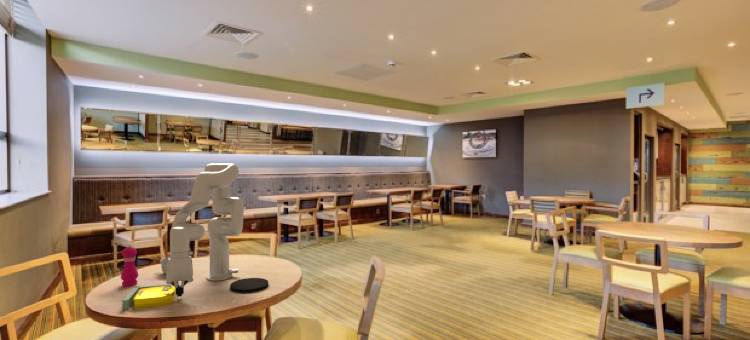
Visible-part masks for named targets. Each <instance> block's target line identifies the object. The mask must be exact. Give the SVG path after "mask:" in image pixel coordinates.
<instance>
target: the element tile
mask: <svg viewBox="0 0 750 340" xmlns="http://www.w3.org/2000/svg"><path fill="white" fill-rule="evenodd" d="M176 297H177V295H176V288H175V287H174V286H173V285H171V286H161V287H152V288H142V289H140V290H138V292H137V293H136V295H135V296H134V298H133V304H132V309H135V310H138V309H146V308H148V309H149V308H154V307H164V306H169V305H173V304H174V302H175V300H176Z"/></svg>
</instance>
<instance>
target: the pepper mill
mask: <svg viewBox="0 0 750 340" xmlns="http://www.w3.org/2000/svg"><path fill="white" fill-rule="evenodd" d="M132 246H133V245H132V244H128V245H127V247H125V248H124V249H123V250H122V253H121V255H122V257H123V262H124V267H123V269H122V271H121V274H120V279H121V281H122V282H121V286H122V287H124V288H128V287H133V286H134V287H135V286H136V285H137V284H138V280H137V279H138V277H139V271H138V269H137V267H136V265H135V261H136V256H137V253H138V251H137V248H135V247H132Z"/></svg>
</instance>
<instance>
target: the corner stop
mask: <svg viewBox="0 0 750 340" xmlns="http://www.w3.org/2000/svg"><path fill="white" fill-rule="evenodd" d="M171 285H172V284H166V283H163V284H162V283H161V284H151V285H137V286H136V285H135V286H134V287H133V289H132V290H130V292H129V293H128V294H127V295H126V296H125V297H124V298H123V299H122V300H121V301H122V309H121V310H122V311H127V310H129V309H131V307H133V298H134V296H135V295H136V293H137V292H138V290H140V289H142V288H152V287H161V286H171Z"/></svg>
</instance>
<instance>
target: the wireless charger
mask: <svg viewBox="0 0 750 340" xmlns="http://www.w3.org/2000/svg"><path fill="white" fill-rule="evenodd" d="M267 288H269V280H268V279H266V278H263V277H262V278H261V277H247V278H241V279H238V280H235V281H233V282H231V283H230V284H229V289H230V291H231V292H234V293H236V294H251V293H256V292H257V293H258V292H261V291H263V290H266V289H267Z"/></svg>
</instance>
